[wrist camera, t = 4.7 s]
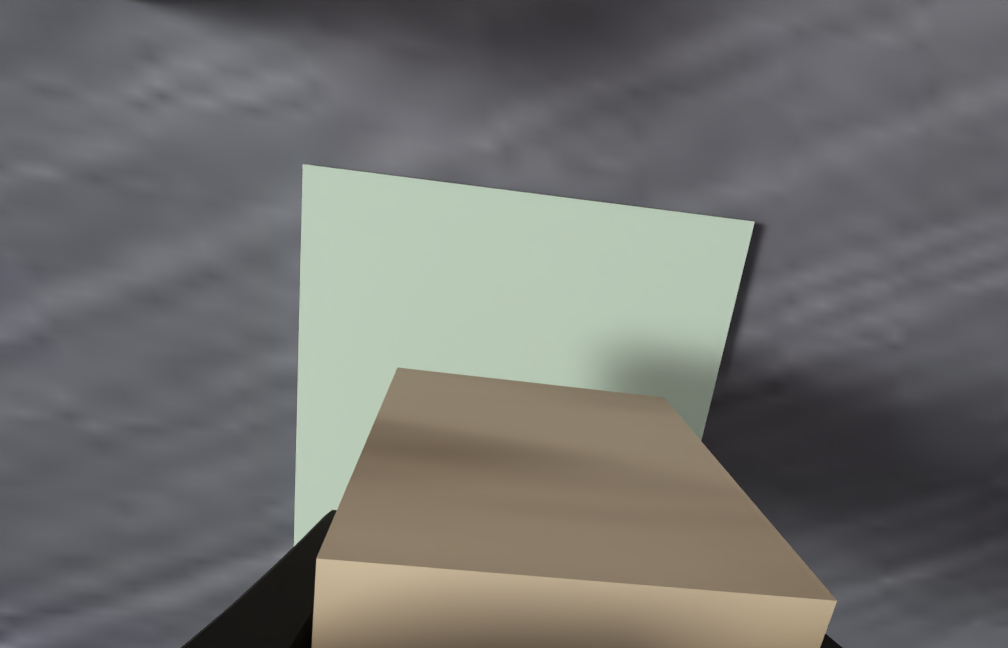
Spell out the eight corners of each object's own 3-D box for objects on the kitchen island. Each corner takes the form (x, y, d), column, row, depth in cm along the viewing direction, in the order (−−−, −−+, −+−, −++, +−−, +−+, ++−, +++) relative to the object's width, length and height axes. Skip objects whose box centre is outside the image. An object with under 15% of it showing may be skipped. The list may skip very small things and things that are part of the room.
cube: (613, 613, 11) (715, 937, 6) (376, 595, 11) (296, 927, 6) (663, 397, 10) (837, 600, 5) (397, 367, 10) (316, 558, 5)
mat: (659, 576, 18) (665, 590, 17) (300, 546, 17) (293, 559, 17) (744, 219, 15) (754, 222, 14) (310, 164, 14) (303, 164, 14)
